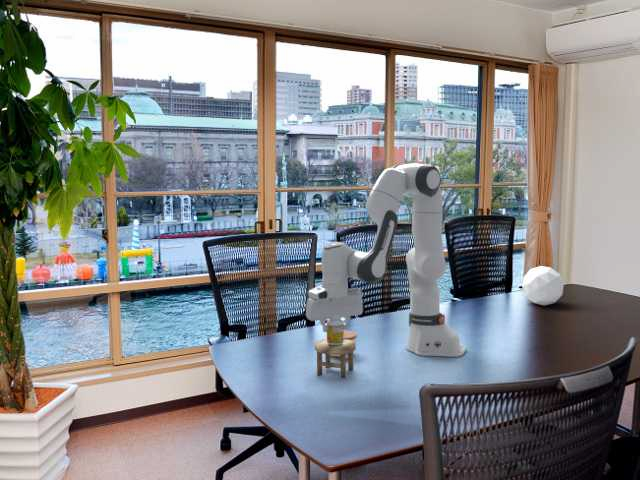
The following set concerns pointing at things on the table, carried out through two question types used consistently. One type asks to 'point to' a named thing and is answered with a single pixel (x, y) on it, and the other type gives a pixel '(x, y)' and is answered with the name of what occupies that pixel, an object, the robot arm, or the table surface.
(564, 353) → the table surface
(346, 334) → the lidded jar
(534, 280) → the geometric polyhedron
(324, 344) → the stool
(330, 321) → the supplement bottle
